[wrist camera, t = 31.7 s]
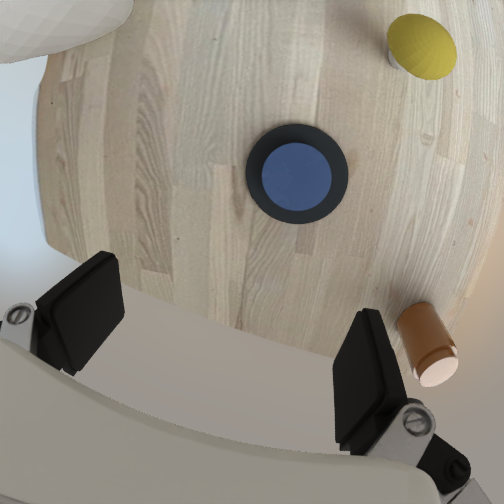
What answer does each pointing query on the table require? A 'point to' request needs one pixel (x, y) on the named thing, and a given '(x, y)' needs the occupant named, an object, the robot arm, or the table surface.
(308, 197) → the lid
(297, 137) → the coaster
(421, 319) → the jar
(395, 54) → the light bulb
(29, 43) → the vase
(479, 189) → the table surface
